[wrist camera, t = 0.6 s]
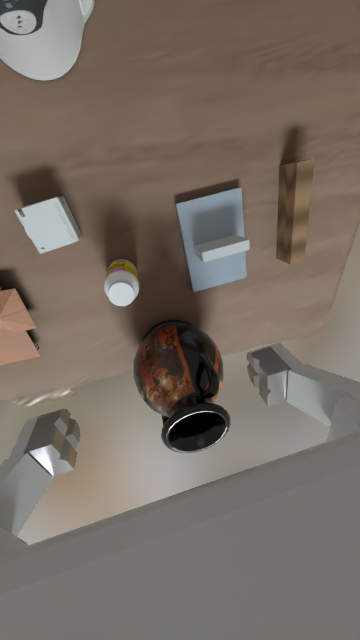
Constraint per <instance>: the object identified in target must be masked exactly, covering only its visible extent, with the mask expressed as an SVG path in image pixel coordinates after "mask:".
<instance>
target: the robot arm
mask: <svg viewBox="0 0 360 640" xmlns="http://www.w3.org/2000/svg"><path fill="white" fill-rule="evenodd" d="M93 7H94V0H0V59H1V60H3V61H4V62H5V63H6V64H7V65H8V66H10V67H11V68H12V69H14V70H15V71H17V72H19V73H20V74H22V75H24V76H27V77H29V78H32V79H36V80H53V79H56V78H59V77H61V76H62V75H64V74H65V73H67V72H68V71H69V70H70V69H71V67H72V66H73V64H74V63H75V61H76V59H77V57H78V54H79V51H80V47H81V42H82V35H83V29H84V25H85V22H86V21H87V19H88V18H89V16H90V14H91V12H92V10H93ZM247 360H248V362H249V365H248V367H247V369H248V374H249V378H250V380H251V382H252V383H253V385H254V387H257V388H259V391H260V395H261V397H262V398H263V400H264V401H265V403H266V404H267V406H269V405H273V404H277V403H280V402H283V401H287V402H288V403H290V404H291V405H293V406H295V407H296V408H298V409H300V410H302V411H303V412H305V413H307V414H309V415H310V416H312V417H313V418H315V419H317V420H319V421H320V422H322V423H324V424H325V425H327V426H329V427H330V431H329V435H328V439H327V442H325V443H322V444H320V445H317V446H314V447H311V448H308V449H305V450H302V451H300V452H297V453H294V454H291V455H288V456H285V457H282V458H279V459H277V460H273V461H271V462H268V463H265V464H262V465H259V466H256V467H254V468H251V469H247V470H245V471H242V472H239V473H236V474H233V475H230V476H227V477H225V478H221V479H219V480H216V481H213V482H210V483H207V484H204V485H201V486H199V487H196V488H193V489H190V490H187V491H184V492H182V493H178V494H175V495H172V496H170V497H167V498H164V499H161V500H158V501H155V502H152V503H149V504H147V505H144V506H141V507H138V508H135V509H132V510H129V511H126V512H124V513H121V514H118V515H115V516H112V517H109V518H106V519H103V520H101V521H98V522H95V523H92V524H89V525H86V526H83V527H80V528H78V529H75V530H72V531H69V532H66V533H63V534H60V535H57V536H55V537H52V538H49V539H46V540H43V541H40V542H37V543H34V544H31V545H29V546H28V545H27V543H26V542H24V541H23V540H21V539H20V538H18V537H17V535H18V534H19V532H20V530H21V529H22V527H23V526H24V524H25V523H26V521H27V519H28V518H29V516H30V514H31V513H32V511H33V509H34V508H35V506H36V505H37V503H38V502H39V500H40V498H41V497H42V495H43V494H44V492H45V490H46V488H47V487H48V486H49V484H50V482H51V481H52V479H53V477H54V476H57V475H60V474H63V473H66V472H68V471H71V470H73V469H74V467H75V462H76V457H77V452H76V450H75V447H76V446H77V445H78V443H79V441H80V428H79V425H78V423H77V422H76V420H73V419H71V418H70V412H69V411H68V410H67V409H62V410H59V411H55V412H52V413H48V414H44V415H41V416H38V417H34V418H31V419H28V420H27V421H26V422H25V423H24V426H23V428H22V430H21V432H20V435H19V437H18V439H17V442H16V444H15V446H14V448H13V450H12V453H11V455H10V457H9V459H7V460H4V461H3V462H2V464H1V465H0V640H360V382H357V381H354V380H351V379H349V378H345V377H343V376H340V375H337V374H334V373H331V372H328V371H325V370H322V369H319V368H316V367H313V366H310V365H303V364H302V363H301V362H300V361H299V360H298V359H297V358H296V357H295V356H294V355H292V354H291V353H290V352H289V351H288V350H287V349H286V348H285V347H284V346H283V345H282V344H281V343H276V344H273V345H270V346H267V347H264V348H261V349H258V350H254V351H251V352H248V353H247Z"/></svg>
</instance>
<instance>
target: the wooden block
mask: <svg viewBox="0 0 360 640" xmlns="http://www.w3.org/2000/svg"><path fill="white" fill-rule="evenodd" d="M313 167H314V159H309V160H304V161H298V162H293V163H288V164H284V165H280V169H279V198H278V227H277V256H276V258H277V259H279V260H281V261H284V262H286V263H288V264H294V263H298V262H301V261H304V257H305V247H306V237H307V227H308V217H309V207H310V197H311V187H312V177H313Z"/></svg>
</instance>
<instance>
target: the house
mask: <svg viewBox="0 0 360 640" xmlns="http://www.w3.org/2000/svg"><path fill="white" fill-rule="evenodd" d="M1 283H2V282H1ZM2 287H3V286H2ZM2 287H0V365H4V364H8V363H13V362H17V361H21V360H26V359H30V358H34V357H39V356H41V355H40V354H39V352H38V349H39V347H38V349H37V348H36V347H35V345H34V344H35V343H36V342H35V343H33V341H34V340H33V341H32V340H31V339H32V338H30V336H29V335H28V333H29V332H28V333H27V332H26V330H30V329H35V328H37V327H36V325H35V323H34V321H33V319H32V318H31V316H30V314H29V312H28V310H27V309H26V307H25V305H24V303H23V301H22V300H21V298H20V296H19V294H18V292H17V291H16V289H15V288H13V289H8V290H6V289H5V290H3V291H2V289H1V288H2ZM30 335H31V334H30ZM32 337H33V336H32ZM37 345H38V344H37ZM37 345H36V346H37Z"/></svg>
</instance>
